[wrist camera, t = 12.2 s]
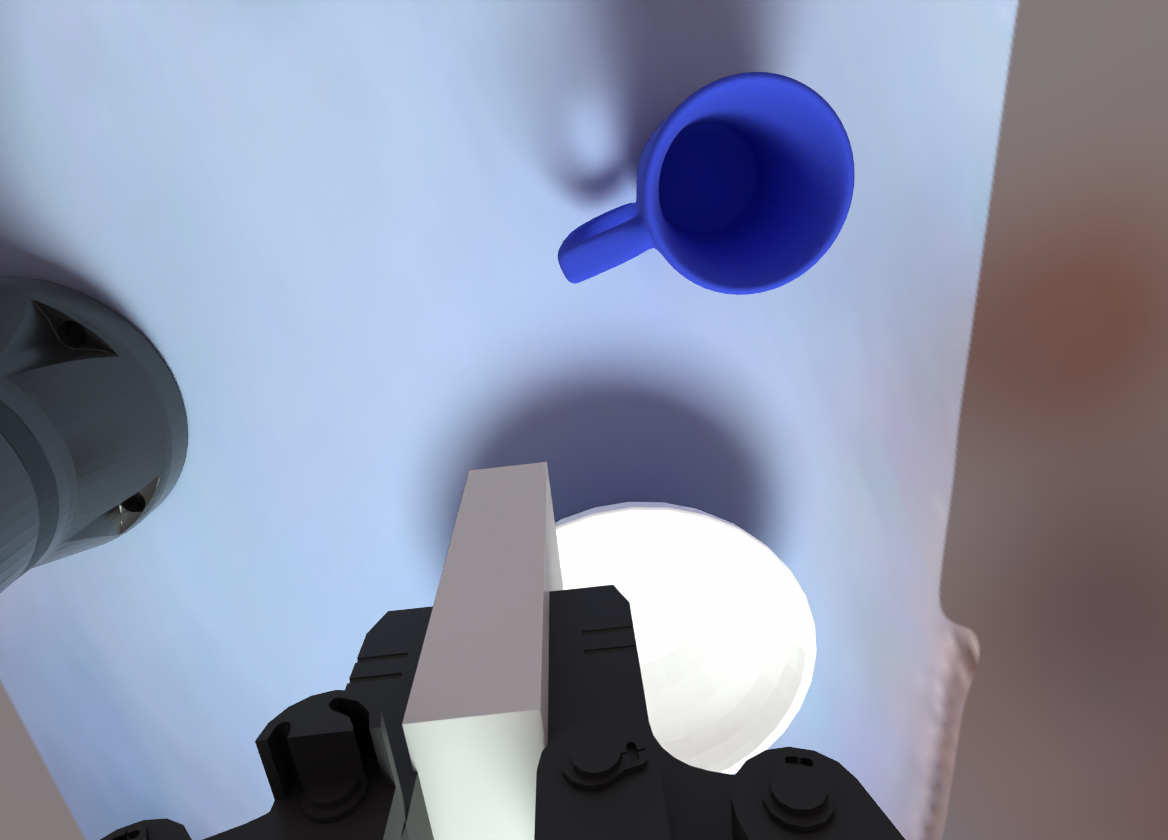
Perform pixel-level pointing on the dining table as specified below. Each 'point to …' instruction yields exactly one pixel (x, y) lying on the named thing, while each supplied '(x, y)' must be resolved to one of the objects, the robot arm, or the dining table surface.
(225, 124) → the dining table surface
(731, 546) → the bowl
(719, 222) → the mug
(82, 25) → the dining table surface
